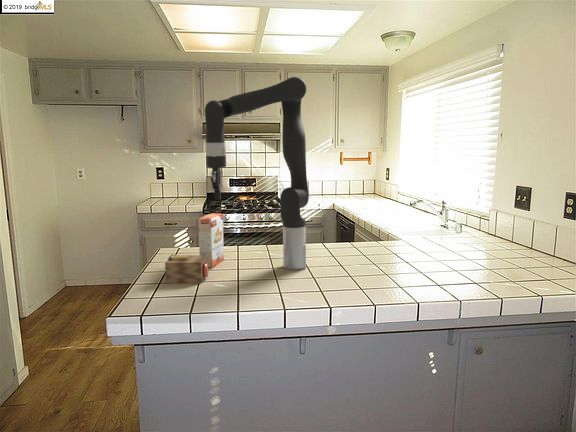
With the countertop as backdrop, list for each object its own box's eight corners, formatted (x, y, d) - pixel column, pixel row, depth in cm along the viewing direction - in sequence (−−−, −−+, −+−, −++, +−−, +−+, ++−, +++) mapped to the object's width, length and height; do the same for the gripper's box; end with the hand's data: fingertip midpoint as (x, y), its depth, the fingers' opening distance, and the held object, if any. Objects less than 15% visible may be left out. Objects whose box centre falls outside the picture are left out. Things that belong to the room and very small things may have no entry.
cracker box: (213, 268, 168) (211, 218, 164) (199, 267, 169) (197, 218, 165) (225, 259, 181) (223, 213, 178) (212, 258, 182) (210, 212, 179)
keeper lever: (190, 257, 155) (189, 253, 155) (187, 260, 151) (187, 256, 151) (171, 257, 155) (171, 254, 155) (168, 260, 151) (168, 257, 151)
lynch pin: (208, 274, 157) (208, 261, 156) (206, 279, 152) (205, 265, 151) (169, 275, 157) (168, 262, 156) (165, 279, 151) (164, 266, 151)
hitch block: (206, 275, 159) (206, 255, 158) (201, 283, 149) (200, 262, 148) (173, 275, 159) (172, 255, 158) (166, 283, 149) (164, 262, 148)
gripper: (209, 154, 163) (211, 197, 166) (202, 155, 150) (204, 202, 153) (228, 154, 163) (229, 197, 166) (223, 155, 150) (224, 201, 153)
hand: (217, 199), depth 159 cm, fingers closed
